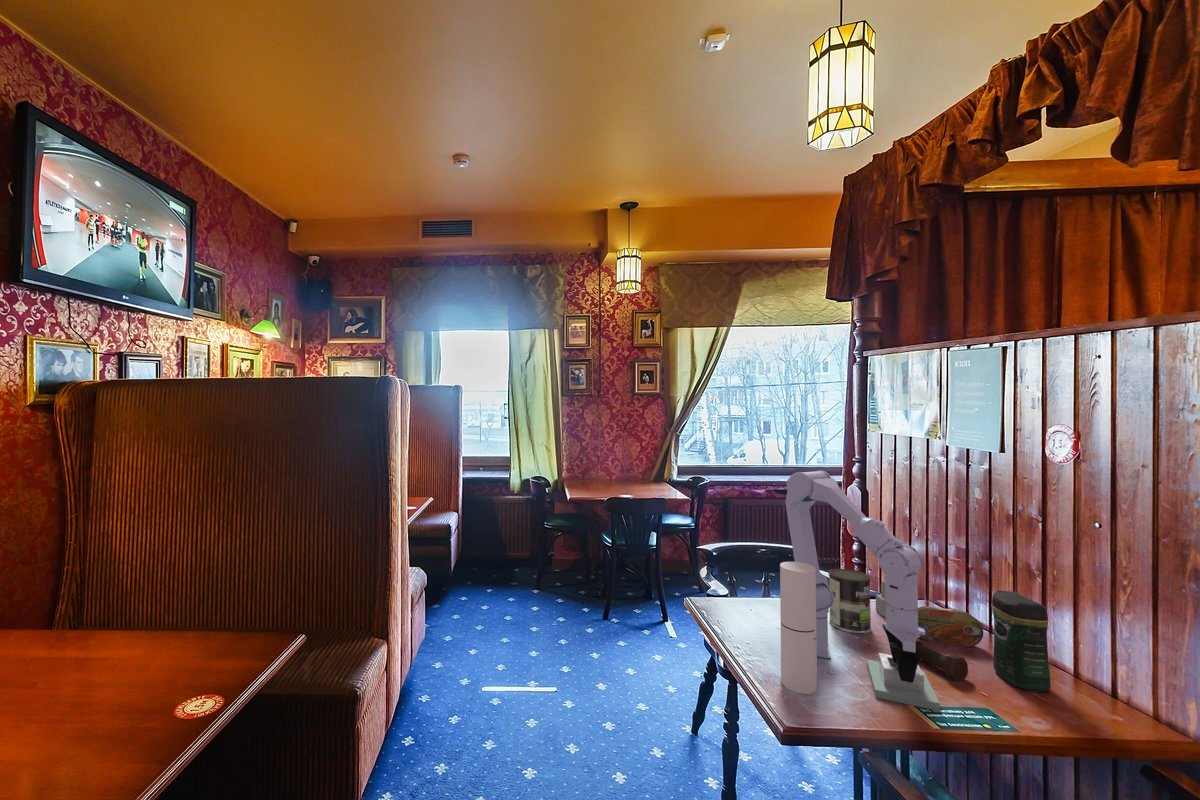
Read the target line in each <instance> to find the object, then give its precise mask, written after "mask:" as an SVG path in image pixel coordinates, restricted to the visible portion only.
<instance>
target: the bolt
mask: <svg viewBox="0 0 1200 800" xmlns="http://www.w3.org/2000/svg"><path fill="white" fill-rule="evenodd" d="M915 648H918V649H923V651H924V657H923V658H922V659H921V660H920V661H924V662H926V663H928V664H929V665H932V666H934V667H936V668H938V669H940V670H942V671H943V672H944V673H945V674H946V676H947V678H948V680H951V681H953V682H955V683H956V682H958V683H960V682H963V681H965V680H966V678H967V677H968V674H969V666H968V662H967V660H966V659H965V658H964V657H963V656H962V655H960V654H958V653H957V654H955V653H954V654H951V655H946V654H943V653H941V652H939V651H937V650H934V649H932V648H930V647H927V646H926V645H925V643H923V642H922V640H921V639H919V638H917V640H916V642H915Z"/></svg>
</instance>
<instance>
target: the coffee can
mask: <svg viewBox="0 0 1200 800" xmlns="http://www.w3.org/2000/svg"><path fill="white" fill-rule="evenodd" d="M828 577H829V578H828V585H829V587H830V589H831V591H832V593H833V596H834V602H833V605H832V606H831V607H829V621H830V622H829V624H830V623H831V624H832V625H833V627H834V626H835V627H837V628H839V629H838V630H840V629H841V630H840V631H843V630H844V631H843V632H846V631H847V633H850V632H851V633H850V634H856V633H864V634H868V633H870V632H871V630H872V627H871V626H872V625H871V577H870V575H868V574H866V573H864V572H861V571H858V570H855V569H847V568H833V569H829V570H828ZM832 625H831V626H832ZM835 627H834V628H835ZM837 628H836V629H837Z"/></svg>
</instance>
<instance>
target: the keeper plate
mask: <svg viewBox="0 0 1200 800" xmlns="http://www.w3.org/2000/svg"><path fill="white" fill-rule="evenodd" d="M866 668H867V672H868V675H869V679H870V683H871V686H872V690H873V693H874V694H873V695H874V698H879V699H882V700H888V701H891V702H896V703H901V704H904V705H905V704H906V705H910V706H916V707H919V708H925V709H928V710H932V711H938V712H941V704H940V703H941V702H940V701H939V699H938V697H937V695H936V692H935V691H934V689H933V687H932V684H931V683H930V681H929V679H928V677H927V674H926V673H925V671H924V669H923V670H922V669H921V671H922V673H923V675H924V693H919V692H914V691H909V690H904V689H899V688H895V687H890V686H885V685H884V683H883V680H882V677H881V674H880V671H879V661H876V660H871V659H866ZM896 668H898V667H897V666H896Z"/></svg>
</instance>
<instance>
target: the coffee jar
mask: <svg viewBox="0 0 1200 800" xmlns="http://www.w3.org/2000/svg"><path fill="white" fill-rule="evenodd" d="M991 608H992V614H993V625H994V626H993V633H994V634H993V662H992V663H993V666H992V667H993V670H994V671H995V672H996V673H997V674H998V676H1000V677H1001V678H1002V679H1003V680H1005V681H1007V683H1009V684H1011V685H1012V686H1014V687H1018V688H1021V689H1025V690H1028V691H1031V692H1034V693H1035V692H1037V693H1039V692H1040V693H1042V692H1047V691H1050V690H1051V673H1050V664H1049V654H1048V653H1049V652H1048V651H1049V650H1048V638H1047V637H1048V634H1047V632H1048V625H1049V616H1048V609H1047V607H1046V606H1045V605H1042V604H1041V603H1038V602H1036V601H1035V600H1033V599H1031V598H1029V597H1026V596H1025V595H1023V594H1021V593H1019V592H1018V591H1010V590H1009V591H1008V590H997V591H995V592H994V593H993V594H992V598H991Z"/></svg>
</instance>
